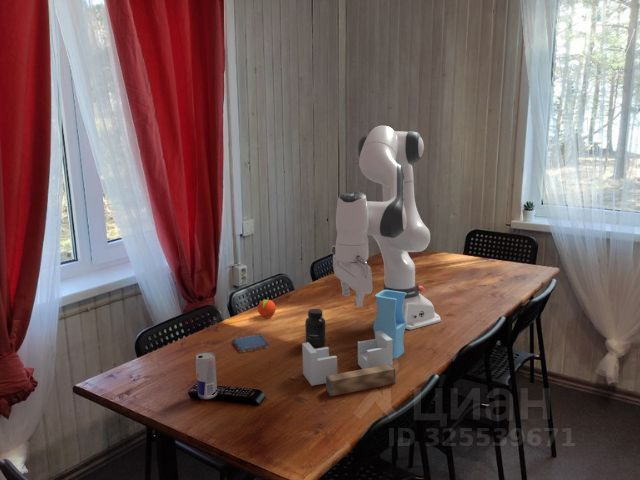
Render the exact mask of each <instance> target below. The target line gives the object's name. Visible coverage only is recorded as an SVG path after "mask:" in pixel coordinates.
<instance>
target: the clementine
mask: <svg viewBox="0 0 640 480" xmlns="http://www.w3.org/2000/svg"><path fill="white" fill-rule="evenodd" d="M276 308H277V307H276V305H275V303H274V302H273V301H272V300H271V299H263V300H261V301H260V302H259V303H258V306H257V311H258V312H257V313H258V314H259V315H260V316H261V317H263V318H271V317H272V316H274V315H275V314H276V310H277V309H276Z"/></svg>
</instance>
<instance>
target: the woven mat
mask: <svg viewBox="0 0 640 480" xmlns="http://www.w3.org/2000/svg"><path fill="white" fill-rule="evenodd" d="M231 342H232V345H233V346H234V347H235V348H236V350H237V352H238V353H240V354H243V353H248V352H252V351H253V352H254V351H258V350H265V349H268V348H269V346H270V345H269V343H268V342H267V340H266V339H265V338H264V337H263V335H262V334H260V333H259V334H255V335H249V336H242V337H237V338H233V339H232V341H231ZM264 348H265V349H264Z"/></svg>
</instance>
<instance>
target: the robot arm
mask: <svg viewBox="0 0 640 480" xmlns="http://www.w3.org/2000/svg"><path fill="white" fill-rule="evenodd" d="M424 144H425V143H424V140H423V138H422V135H421V134H420V133H419V132H418V131H417V132H416V131H414V130H413V131H411V130H408V131H401V130H400V131H399V130H397V131H396V130H394V129H393V128H392V127H390V126H388V125H378V126H376V127H374V128H372V129H371V130H370V132H369V133H367V134H364V135H363V136H362V137H360V139H359V141H358V145H357V154H358V158H359V159H358V167H359V170H360V171H361V173H362V174H363V176H364V178H365V177H366V179H368V180H370V181H371V182H373V183H377V184H380V185H381V186H382V201H373V200H372V201H370V200H369V201H368V200H367V195H366V194H364V193H363V192H360V191H348V192H343V193H341V194H340V195H339V196H338V199H337V203H336V212H335V229H336V232H337V236H336V240H335V245H332V246H330V247H331V248H330V250H331V254H332V262H333V263H332V266H333V273H334V276H335V277H336V278H337V279H338V280H339V281H340V286H341V290H342V293H341V294H342V296H343V297H345V298H346V297H350V296H351V290H350V289H352V290H353V291H354V292H355V295H356V297H355V299H354V306H356V307H357V308H361V307H363V305H364V298H365V296H366V295H370V294H371V293H372V291H373V275H372V268H371V266H370V265H369V264H368V263H367V260H369V238H368V236H371V237H373V239H374V240H375V241H376V243H377V245H378V248H379V250H380V253H381V256H382V257H381V258H382V260H383V267H384V284H383V289H382V290H392V291H398V292H405V293H406V295H405V298H404V302H403V315H404V318H405V321H406V327H405V330H409V331H411V330H414V329H419V328H422V327H426V326H430V325H433V324H438V323H440V322H441V316H440V315H439V314H438V313H436V312H435V307H434V305H433V303H432V301H430V300H429V299H427V298H426V297H425V296H423V295H422V294H421V293H424V291H425V287H423V286H422V285H419V284H417V283H416V281H415V280H416V265H415V263H414V261H413V259H412V258H411V257H410V255H409V253H419V252H423V251H424V250H426V248H428V246H429V245H430V242H431V232H430V229H429V228H428V227H427V226H426V224H425V223H424V222H423V220H422V218H421V216H420V213H419V212H418V208H417V204H416V199H415V187H414V186H415V185H414V184H415V181H414V180H415V179H414V178H415V177H414V170H413V166H414V165H415V163H418V162H419V161H420V160H421V159H422V157H423V154H424V150H425V145H424Z"/></svg>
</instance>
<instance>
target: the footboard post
mask: <svg viewBox="0 0 640 480" xmlns="http://www.w3.org/2000/svg"><path fill="white" fill-rule="evenodd" d="M301 348H302V349H301V350H302V374H303V376H304V377H305V379H306V380H307V381H308V383H309V384H310V386H316V385H317V386H319V385H322V384H326V376H329V375H334V374H338V356H336V355H331V356H330V348H329V347H328V346H325V347H324V346H323V347H318V348H313V347H312V346H311V345H310V343H309V342H307V343H306V342H302V343H301Z"/></svg>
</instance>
